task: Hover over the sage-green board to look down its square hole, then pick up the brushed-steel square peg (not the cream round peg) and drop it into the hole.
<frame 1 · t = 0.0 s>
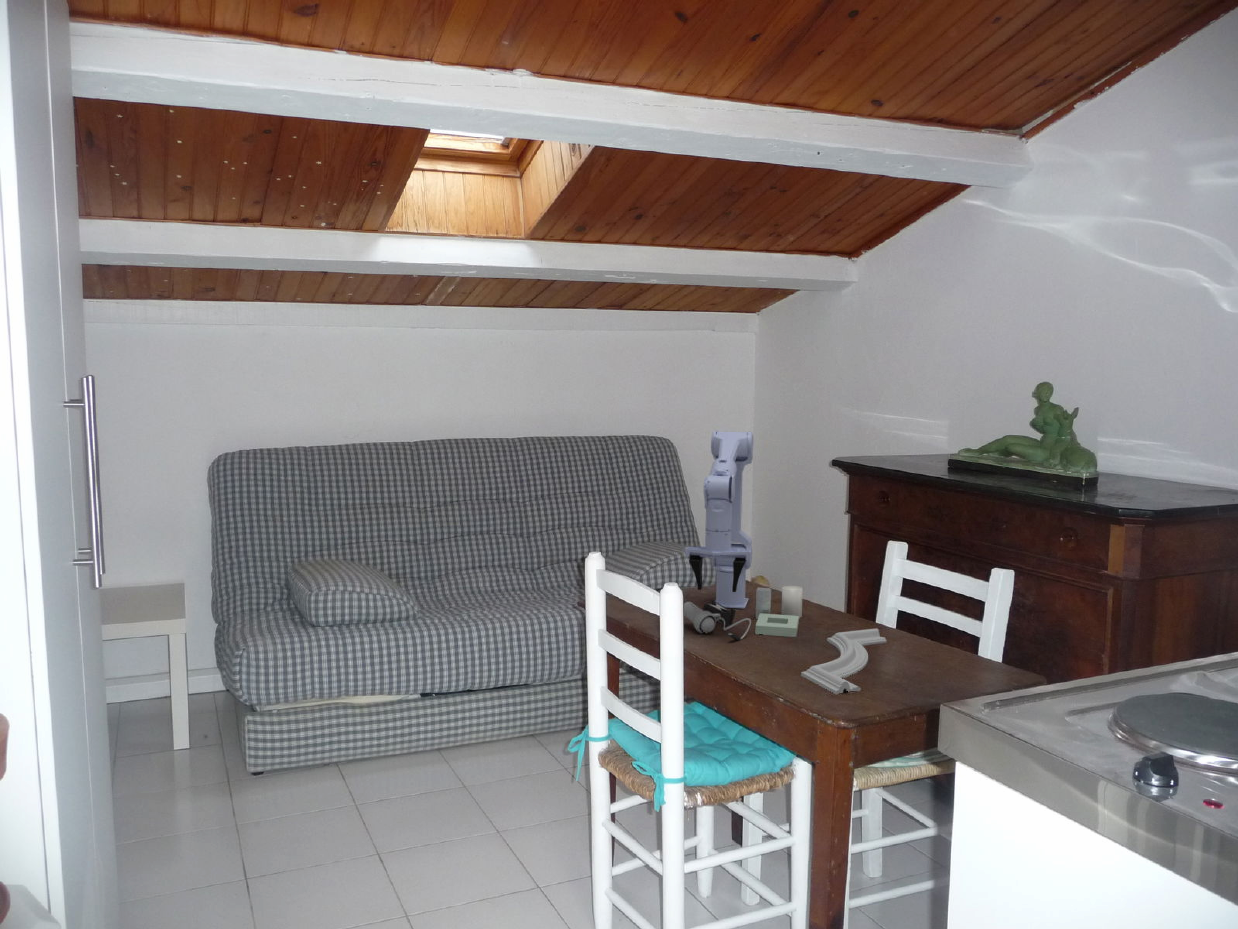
hand: (717, 590, 219), 10 cm above the table, tool pointing down, fingers open, 7 cm apart
socket board: (777, 629, 225), on the table
steel square peg: (763, 618, 234), on the table
clip-on lamp: (718, 633, 222), on the table
molding: (854, 665, 200), on the table
cream round peg: (791, 616, 236), on the table
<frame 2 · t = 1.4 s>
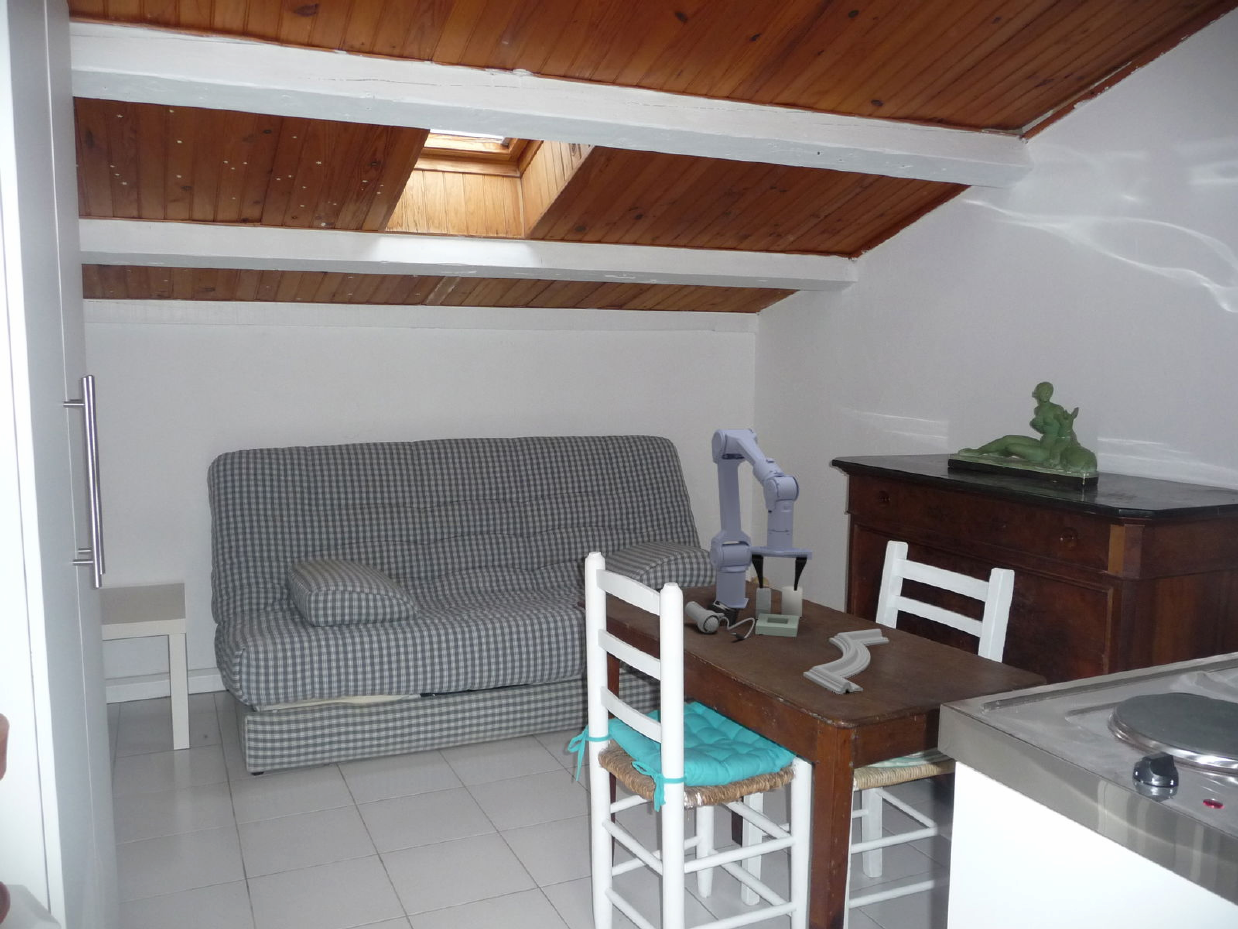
hand: (778, 588, 224), 9 cm above the table, tool pointing down, fingers open, 7 cm apart
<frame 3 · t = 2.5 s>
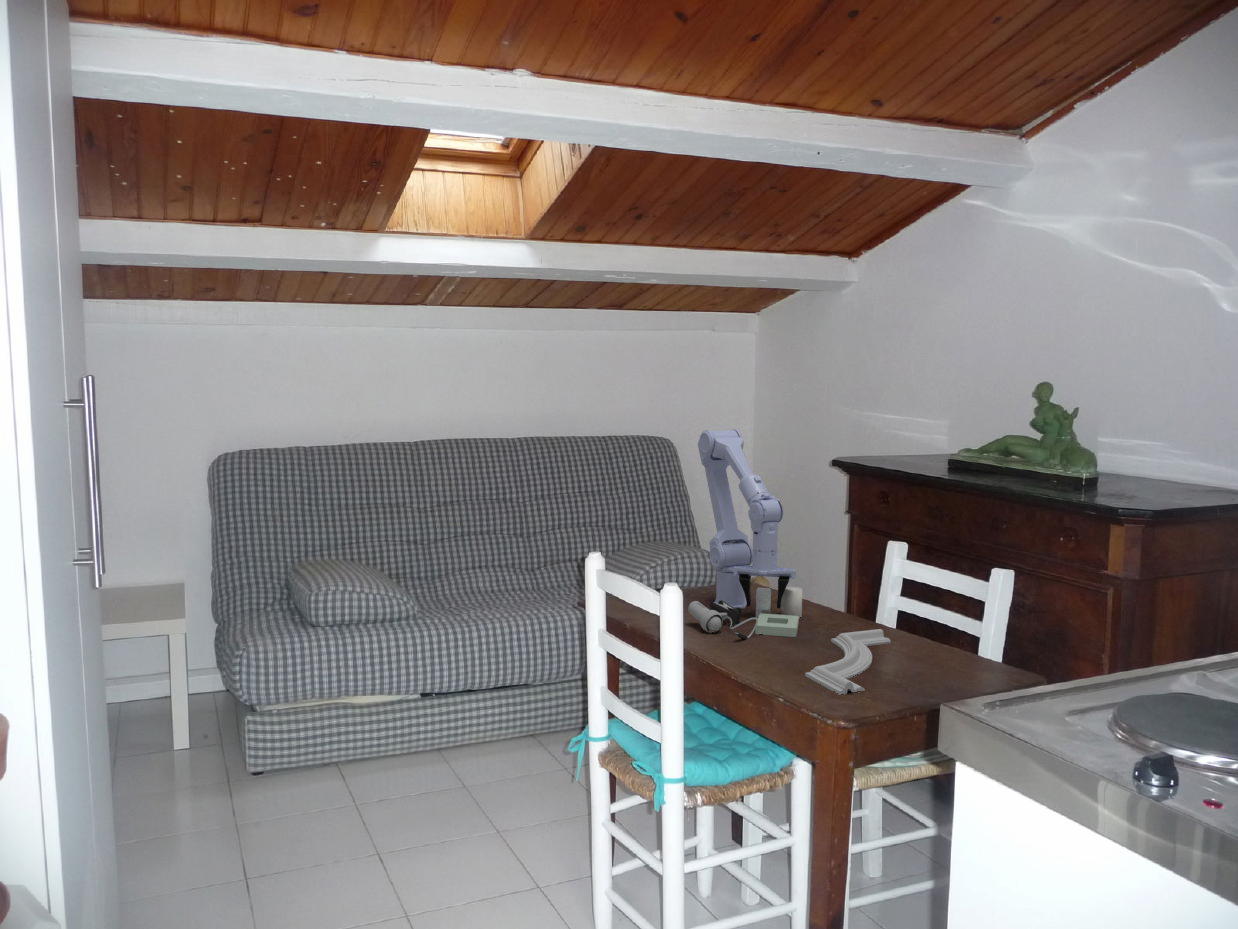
hand: (763, 606, 234), 3 cm above the table, tool pointing down, fingers open, 6 cm apart
cream round peg: (791, 617, 236), on the table, touching gripper
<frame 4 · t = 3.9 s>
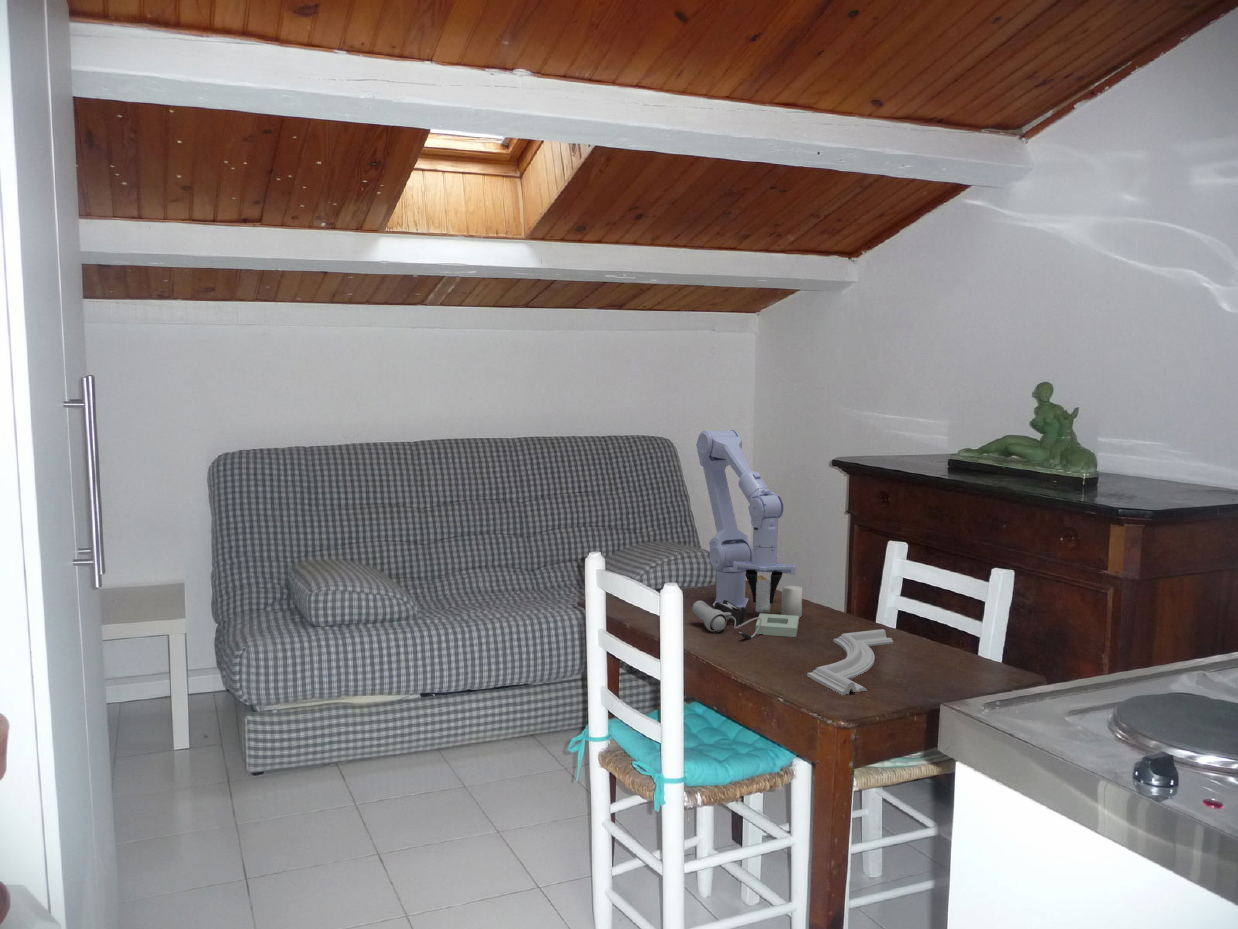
hand: (763, 602, 234), 4 cm above the table, tool pointing down, fingers closed on steel square peg, 3 cm apart
steel square peg: (763, 610, 234), point 2 cm above the table, touching gripper
clip-on lamp: (729, 631, 224), on the table
cream round peg: (791, 616, 236), on the table
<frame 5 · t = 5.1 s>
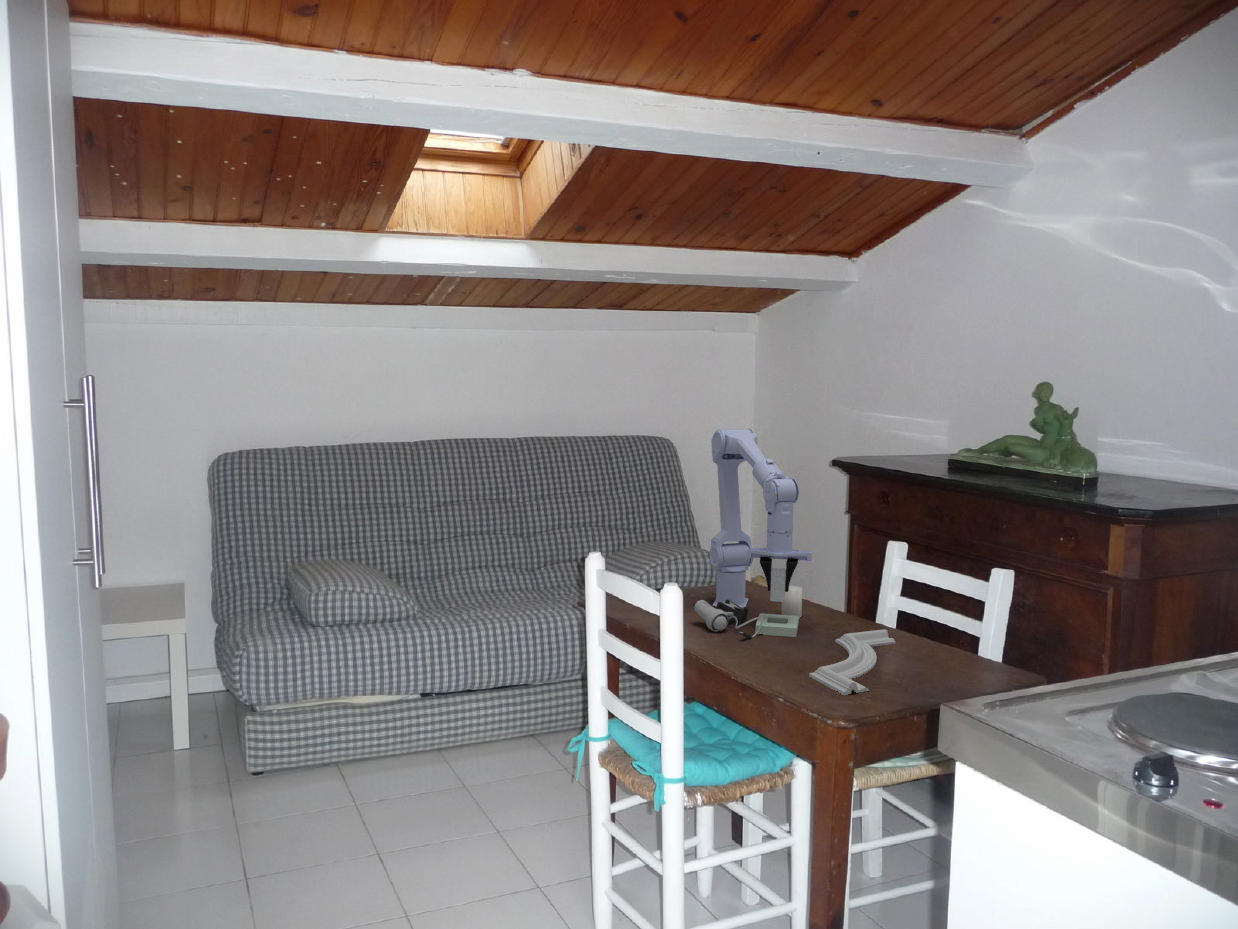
hand: (778, 590, 224), 9 cm above the table, tool pointing down, fingers closed on steel square peg, 3 cm apart
steel square peg: (777, 599, 224), point 7 cm above the table, touching gripper
when the fingers open (3 cm above the table, at t = 6.9 s): steel square peg stays where it is, resting in socket board.
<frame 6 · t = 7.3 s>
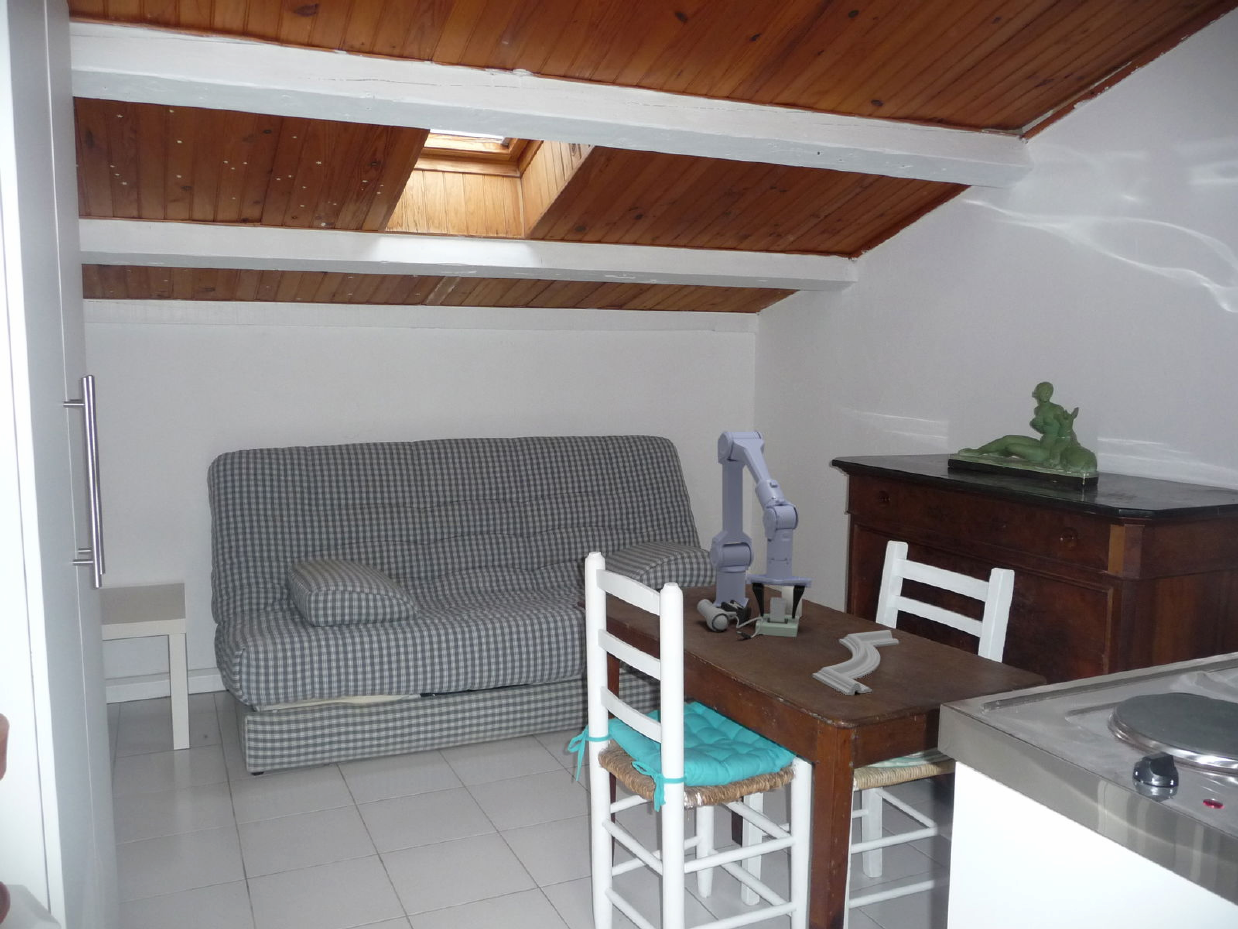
hand: (777, 616, 224), 3 cm above the table, tool pointing down, fingers open, 6 cm apart
steel square peg: (777, 629, 225), resting in socket board
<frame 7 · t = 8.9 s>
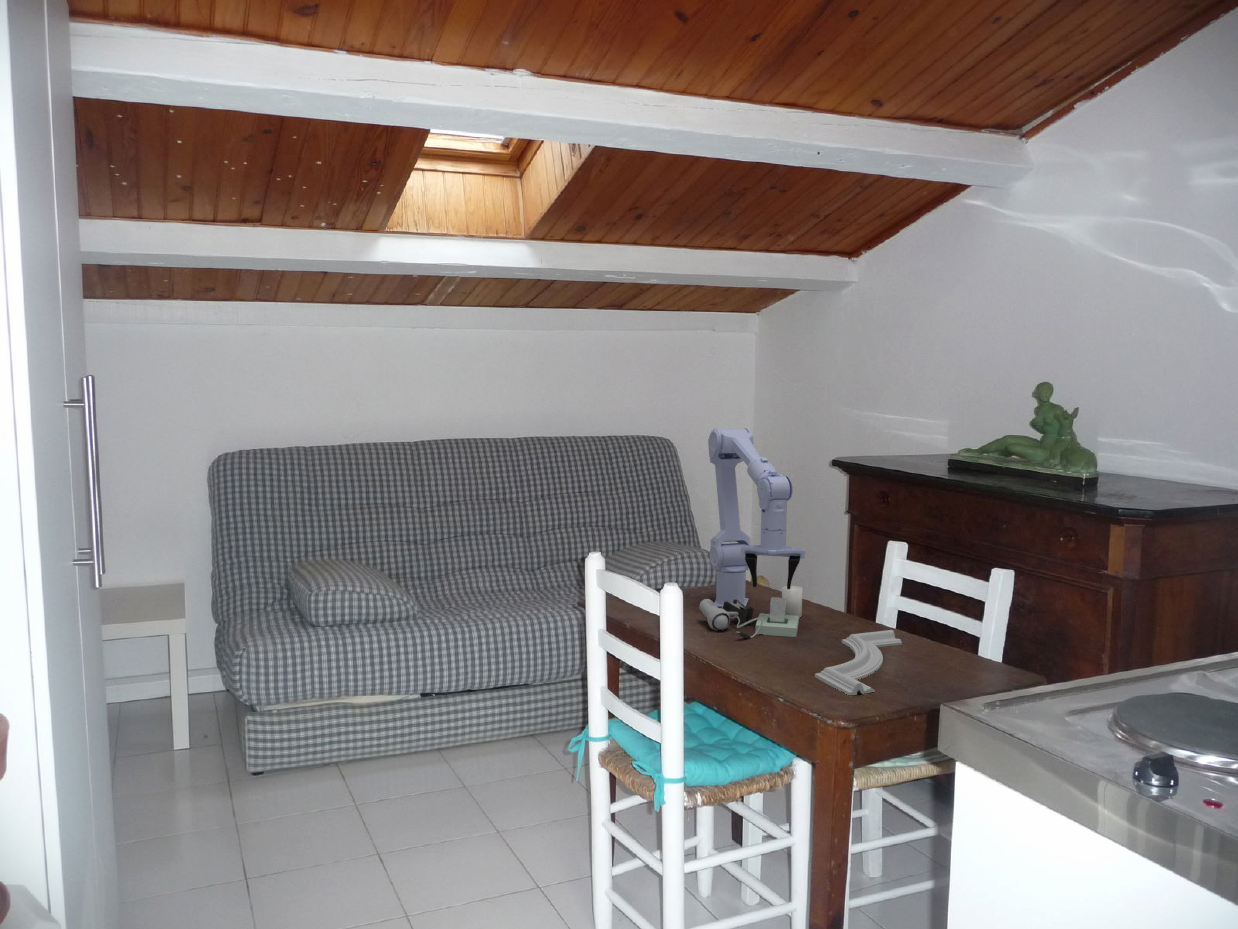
hand: (771, 587, 226), 9 cm above the table, tool pointing down, fingers open, 7 cm apart
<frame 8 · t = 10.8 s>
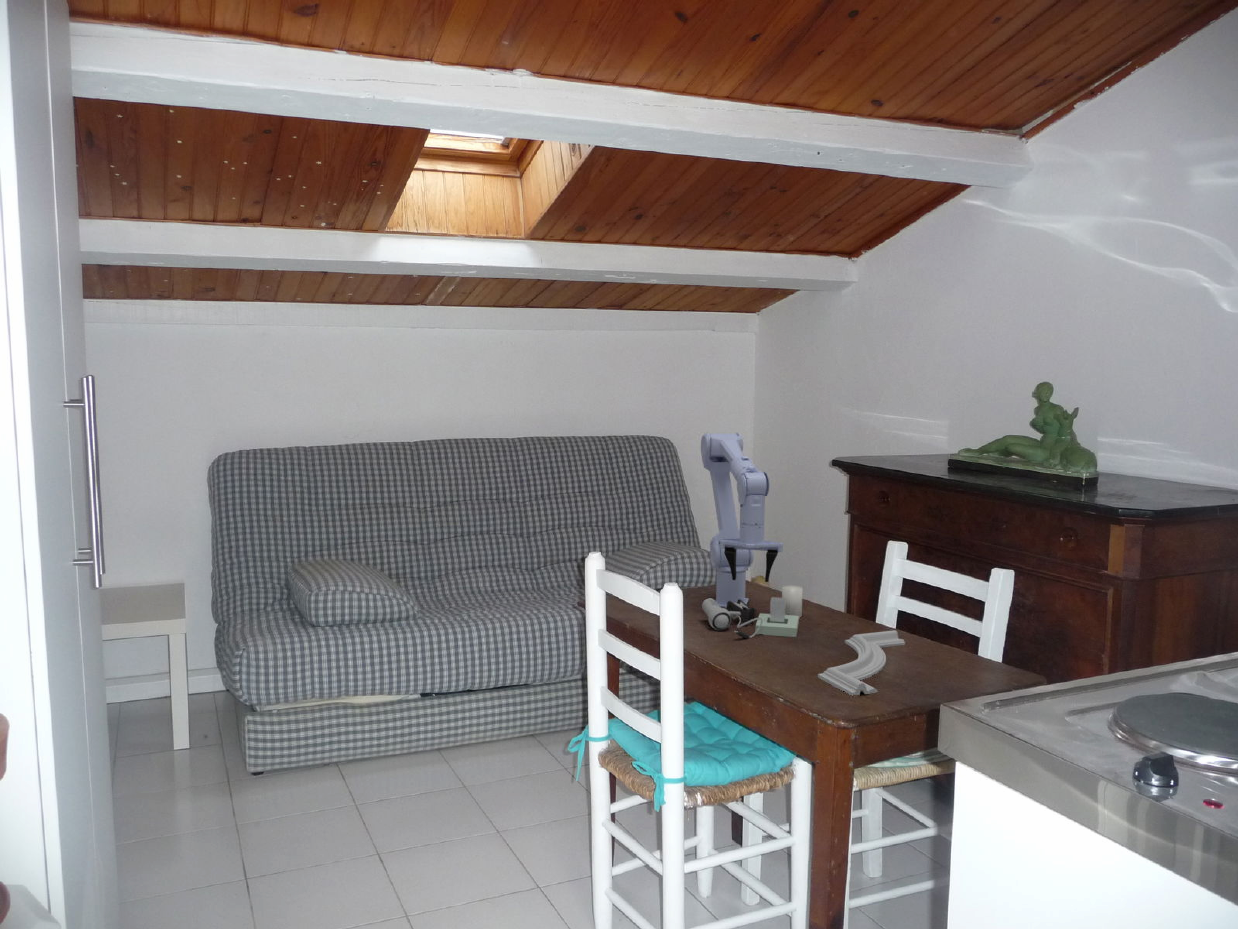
hand: (750, 580, 232), 9 cm above the table, tool pointing down, fingers open, 7 cm apart
at the end: steel square peg 0.0 cm off-centre on the socket board, point 0.0 cm above the socket board's base; steel square peg tilted 0°; cream round peg moved 0.1 cm from its start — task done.
